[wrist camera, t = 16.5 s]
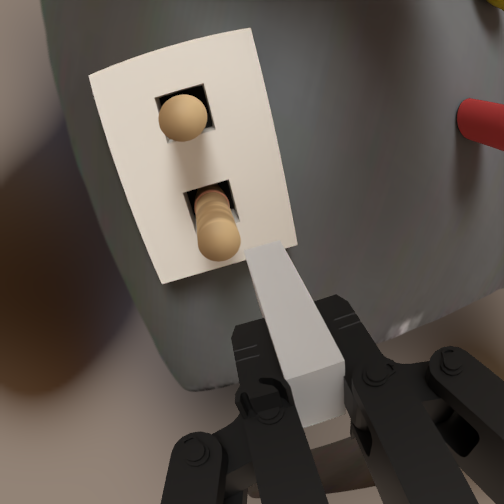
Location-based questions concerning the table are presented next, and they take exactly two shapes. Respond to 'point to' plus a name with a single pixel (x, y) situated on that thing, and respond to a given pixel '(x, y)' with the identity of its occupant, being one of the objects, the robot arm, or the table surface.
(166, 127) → the seated peg
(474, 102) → the beer can
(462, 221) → the table surface
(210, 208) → the honey-oak peg
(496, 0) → the lemon
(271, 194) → the off-white board
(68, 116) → the table surface
